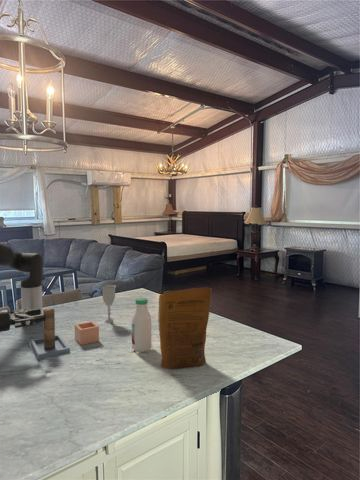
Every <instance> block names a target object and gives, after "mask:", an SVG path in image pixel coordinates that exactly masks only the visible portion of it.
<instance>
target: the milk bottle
mask: <svg viewBox="0 0 360 480" xmlns="http://www.w3.org/2000/svg"><path fill="white" fill-rule="evenodd" d="M135 307H136V308H135V310H134V313H133V314H132V318H131V348H132V349H133V352H136V353H145V352H146V353H147V352H148V351H151V349H152V316H151V314H150V312H149V309H148V298H147V297H138V298H135Z"/></svg>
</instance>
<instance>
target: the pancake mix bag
mask: <svg viewBox="0 0 360 480" xmlns="http://www.w3.org/2000/svg"><path fill="white" fill-rule="evenodd" d="M212 290H213V288H210V287H193V288H192V287H191V288H186V289H179V290H176V289H175V290H166V291H162V294H159V295H158V321H157V322H158V333H159V343H160V344H159V345H160V356H161V361H160V367H162V368H164V369H167V370H179V369H186V368H187V369H188V368H199V367H200V368H201V367H202V365H203V366H204V365H205V364H206V362H207V361H206V354H205V348H206V347H205V346H206V342H207V327H208V322H209V317H210V309H211V304H212Z"/></svg>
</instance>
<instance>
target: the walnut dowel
mask: <svg viewBox="0 0 360 480" xmlns="http://www.w3.org/2000/svg"><path fill="white" fill-rule="evenodd" d="M42 314H43V315H45V321H42V322H43V337H44V349H46V350H50V349H53V348H55V335H56V329H55V328H56V325H55V323H56V322H55V321H56V317H55V315H56V314H55V308H53V307H48V308H44V309H42Z"/></svg>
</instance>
